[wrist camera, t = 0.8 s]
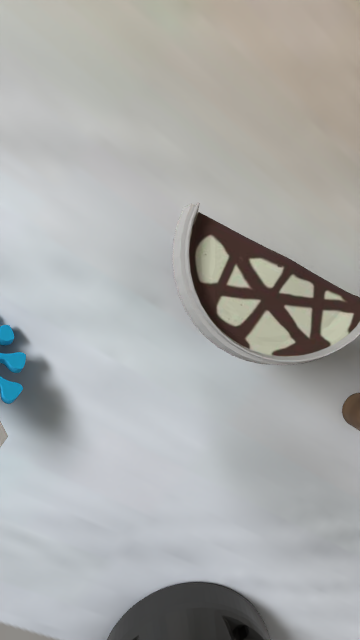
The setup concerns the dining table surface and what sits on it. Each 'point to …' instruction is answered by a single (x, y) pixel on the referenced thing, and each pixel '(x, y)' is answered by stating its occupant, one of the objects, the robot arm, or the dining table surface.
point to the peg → (352, 410)
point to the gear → (10, 366)
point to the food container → (257, 296)
